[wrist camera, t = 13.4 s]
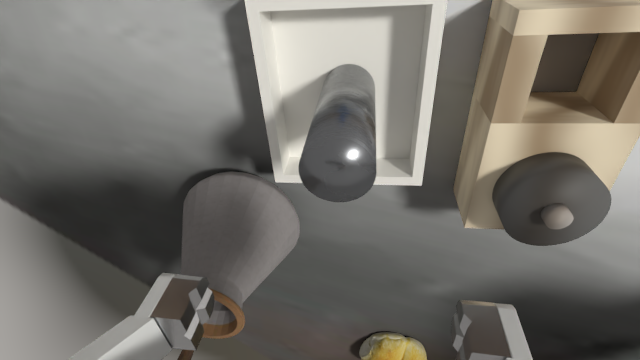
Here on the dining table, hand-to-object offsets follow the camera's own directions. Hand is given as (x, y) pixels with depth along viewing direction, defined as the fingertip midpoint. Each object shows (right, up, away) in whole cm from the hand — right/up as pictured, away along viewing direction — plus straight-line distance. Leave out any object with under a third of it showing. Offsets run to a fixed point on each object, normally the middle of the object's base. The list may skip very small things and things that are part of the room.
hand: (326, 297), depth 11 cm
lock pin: (+2, +11, +15) cm, 19 cm away
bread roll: (+10, -20, +38) cm, 44 cm away
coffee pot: (-9, -2, +28) cm, 29 cm away
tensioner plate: (+16, +9, +15) cm, 24 cm away
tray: (+2, +11, +16) cm, 20 cm away
